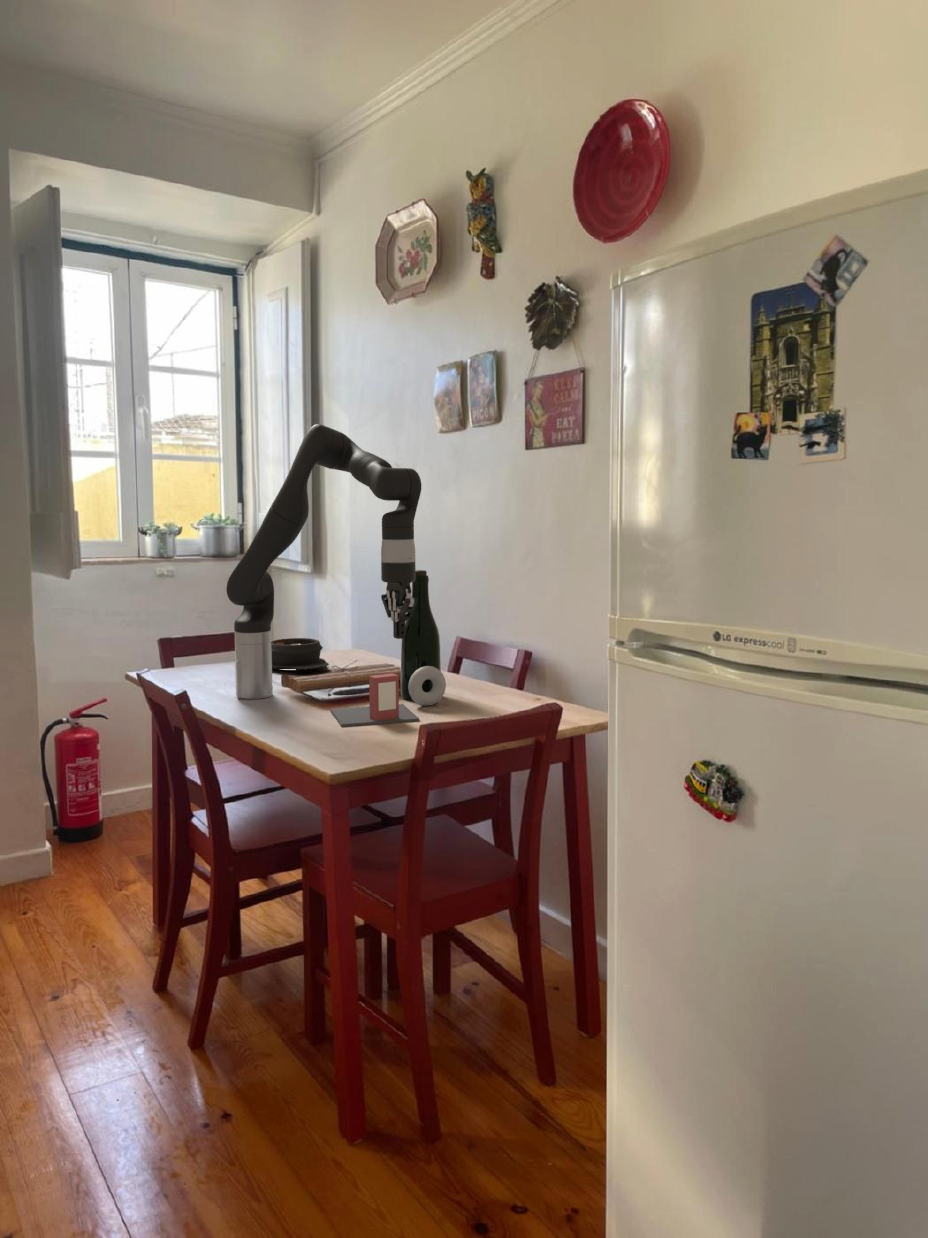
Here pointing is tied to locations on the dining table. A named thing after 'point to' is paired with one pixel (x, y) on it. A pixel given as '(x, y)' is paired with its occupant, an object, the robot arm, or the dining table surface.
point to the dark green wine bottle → (419, 637)
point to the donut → (418, 680)
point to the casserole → (297, 654)
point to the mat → (368, 716)
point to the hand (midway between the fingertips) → (399, 638)
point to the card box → (384, 697)
